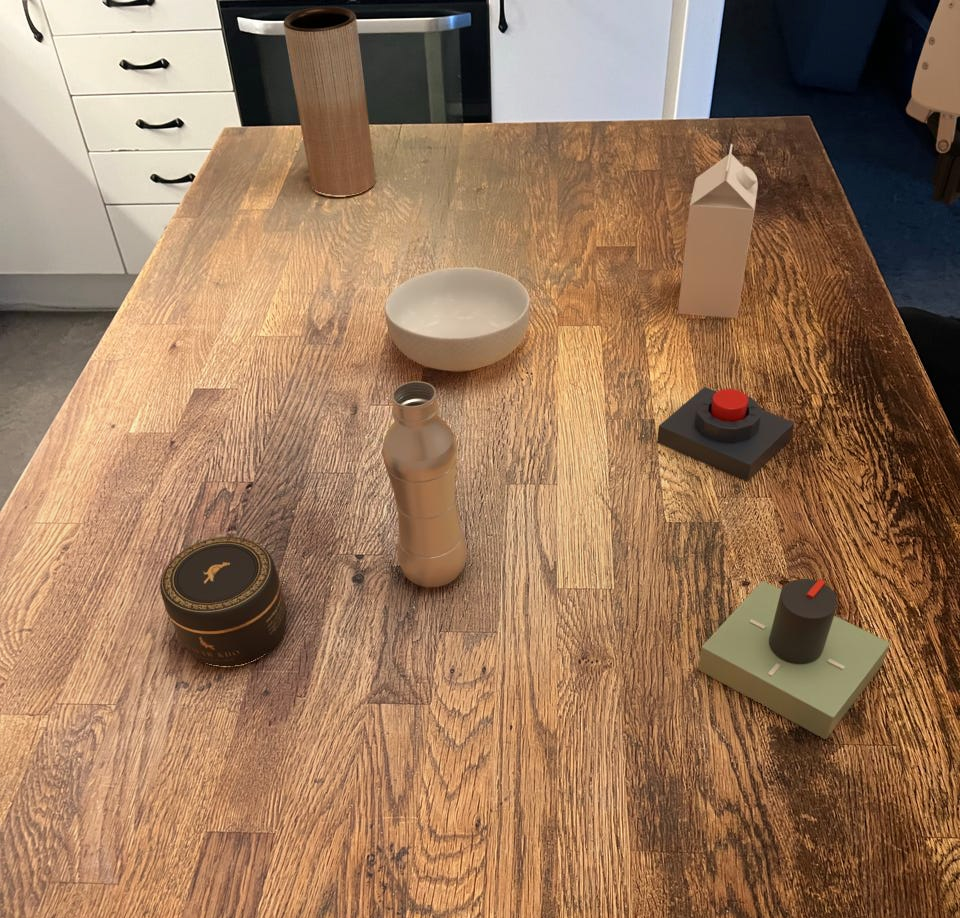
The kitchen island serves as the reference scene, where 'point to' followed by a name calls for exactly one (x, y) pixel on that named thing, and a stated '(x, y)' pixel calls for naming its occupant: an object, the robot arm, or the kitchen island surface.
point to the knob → (802, 620)
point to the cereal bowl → (458, 317)
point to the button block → (725, 436)
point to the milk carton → (718, 239)
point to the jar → (225, 600)
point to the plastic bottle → (424, 487)
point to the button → (729, 405)
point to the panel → (792, 665)
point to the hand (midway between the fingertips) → (947, 197)
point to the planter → (331, 99)
